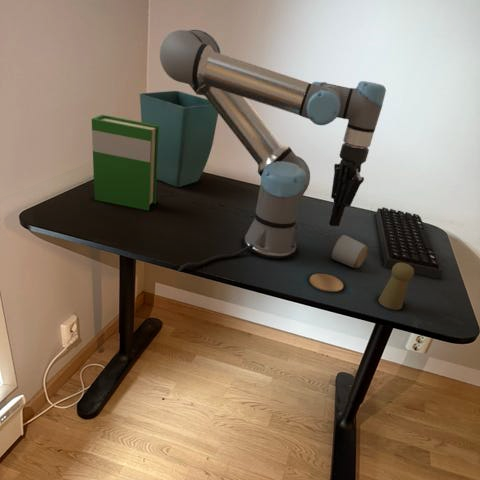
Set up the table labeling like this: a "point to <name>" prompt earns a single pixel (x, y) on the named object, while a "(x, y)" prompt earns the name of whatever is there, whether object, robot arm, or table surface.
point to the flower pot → (180, 133)
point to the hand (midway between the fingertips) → (333, 224)
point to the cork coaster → (326, 282)
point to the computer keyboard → (406, 242)
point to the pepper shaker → (396, 286)
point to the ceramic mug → (349, 252)
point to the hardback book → (125, 161)
